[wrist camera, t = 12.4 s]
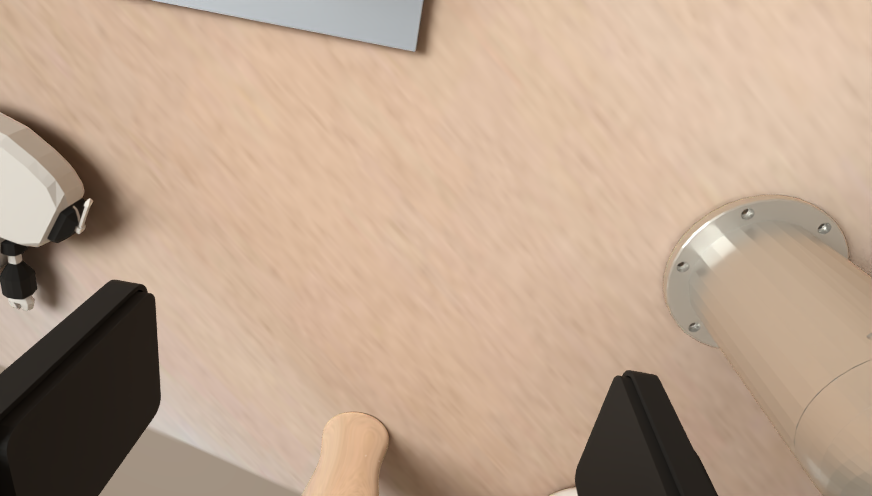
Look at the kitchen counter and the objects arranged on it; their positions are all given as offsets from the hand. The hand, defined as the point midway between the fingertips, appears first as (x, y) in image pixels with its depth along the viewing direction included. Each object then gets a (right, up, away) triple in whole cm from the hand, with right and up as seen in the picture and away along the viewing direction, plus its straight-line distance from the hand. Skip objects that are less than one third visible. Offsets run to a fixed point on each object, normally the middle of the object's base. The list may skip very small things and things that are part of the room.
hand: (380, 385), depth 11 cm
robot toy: (-31, +7, +30) cm, 44 cm away
